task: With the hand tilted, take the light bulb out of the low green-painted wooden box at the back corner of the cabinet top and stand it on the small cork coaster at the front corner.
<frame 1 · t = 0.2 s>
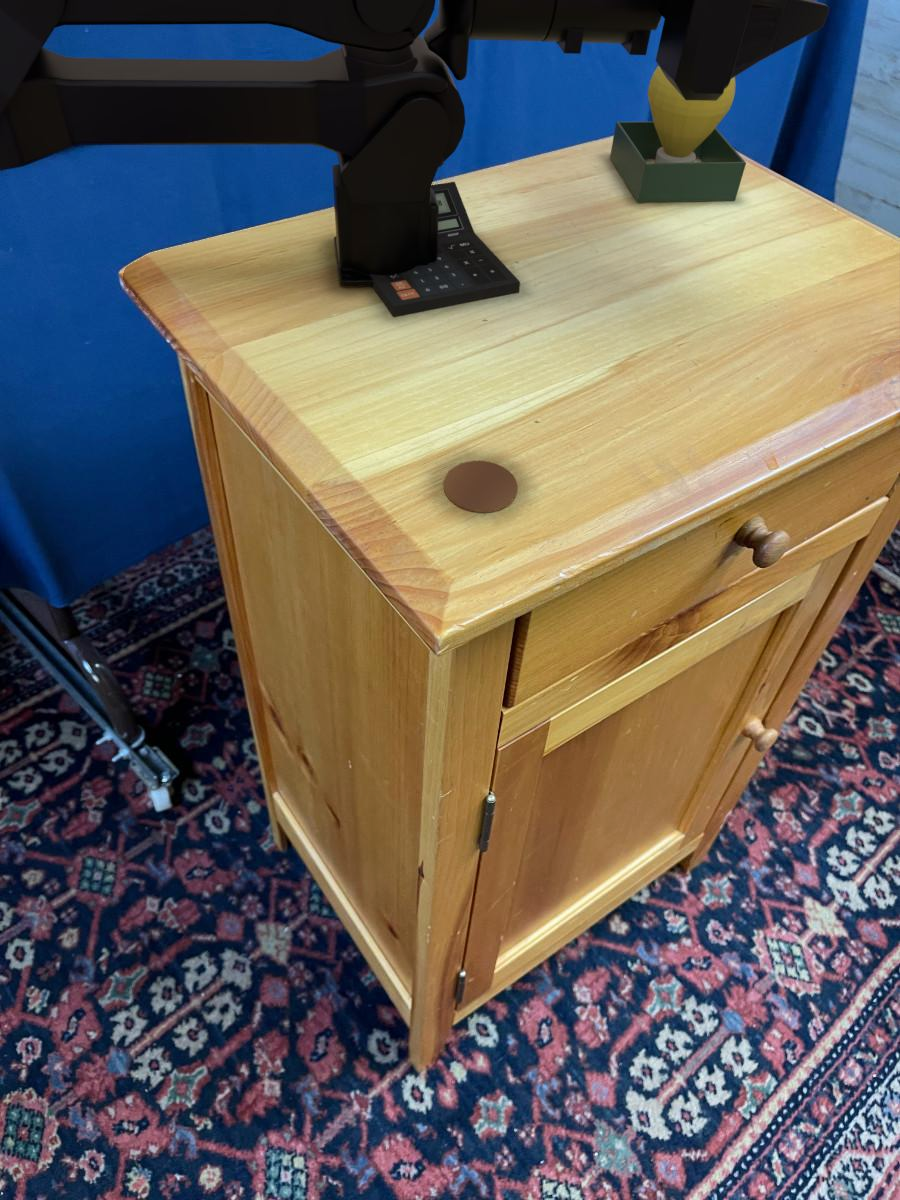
calculator: (424, 267, 62), on the nightstand, touching arm
light bulb: (670, 181, 73), resting in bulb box
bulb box: (670, 178, 73), on the nightstand
coaster: (480, 486, 47), on the nightstand
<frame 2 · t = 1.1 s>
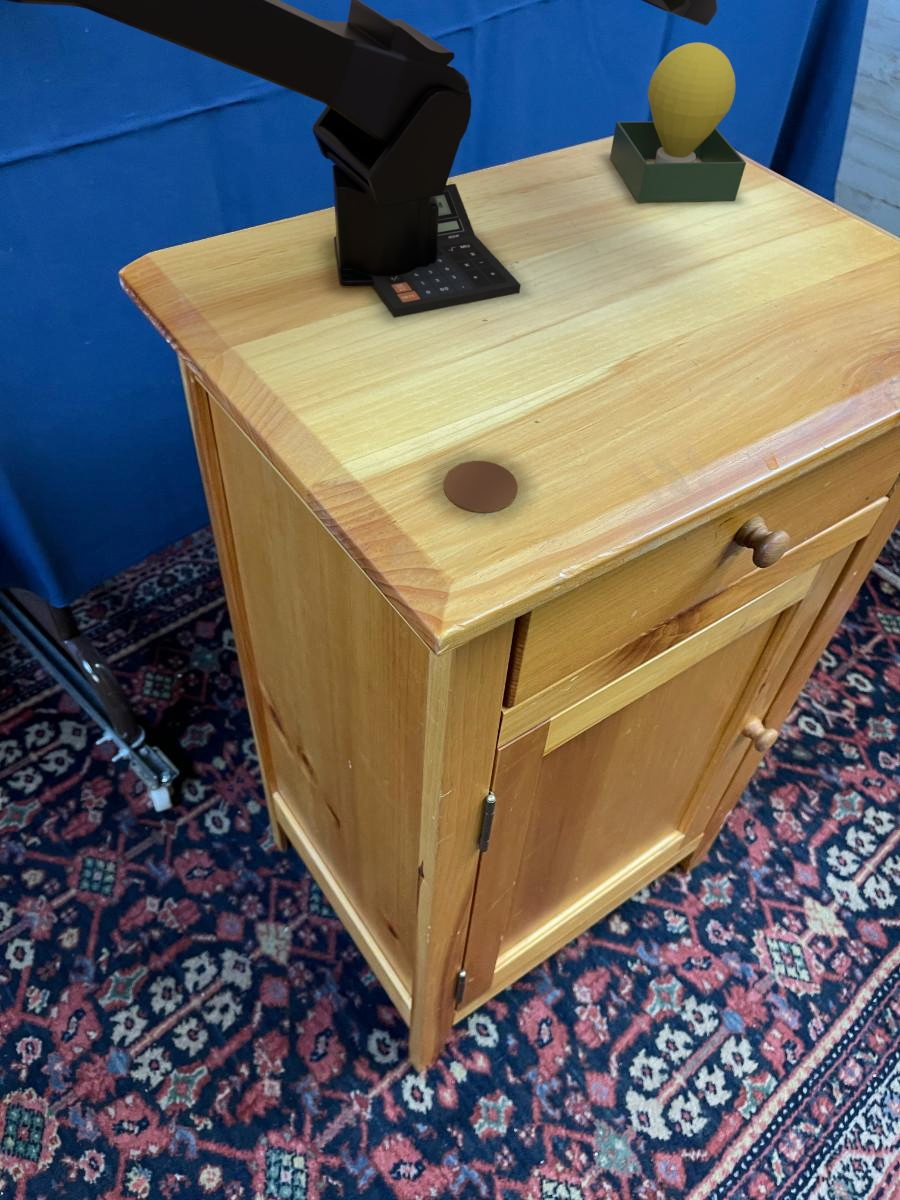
calculator: (424, 269, 62), on the nightstand
everything else where it was.
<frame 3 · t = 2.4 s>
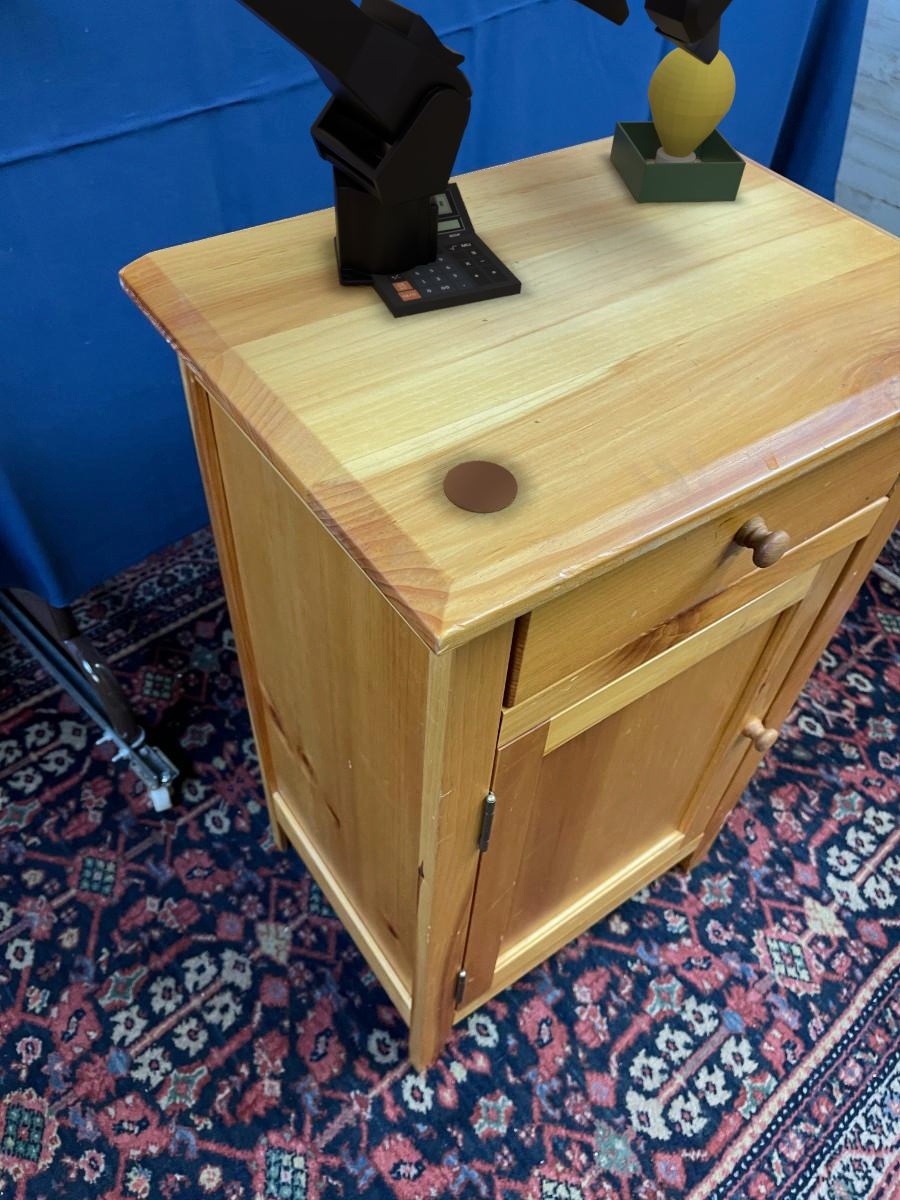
hand: (666, 38, 63), 11 cm above the nightstand, tool tilted 45°, fingers open, 9 cm apart
calculator: (425, 268, 62), on the nightstand, touching arm
everything else where it was.
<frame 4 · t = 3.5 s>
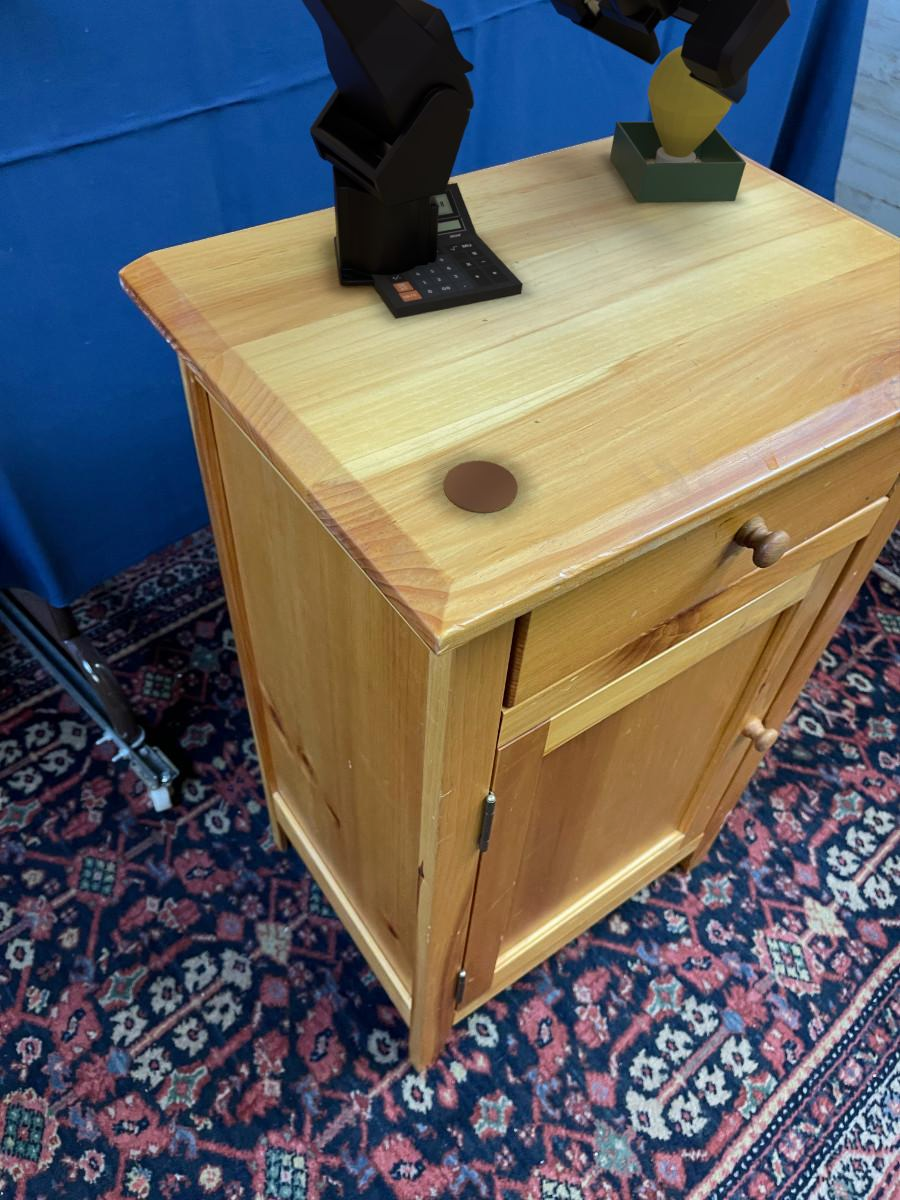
hand: (696, 77, 67), 8 cm above the nightstand, tool tilted 45°, fingers open, 9 cm apart
nothing on the nightstand moved.
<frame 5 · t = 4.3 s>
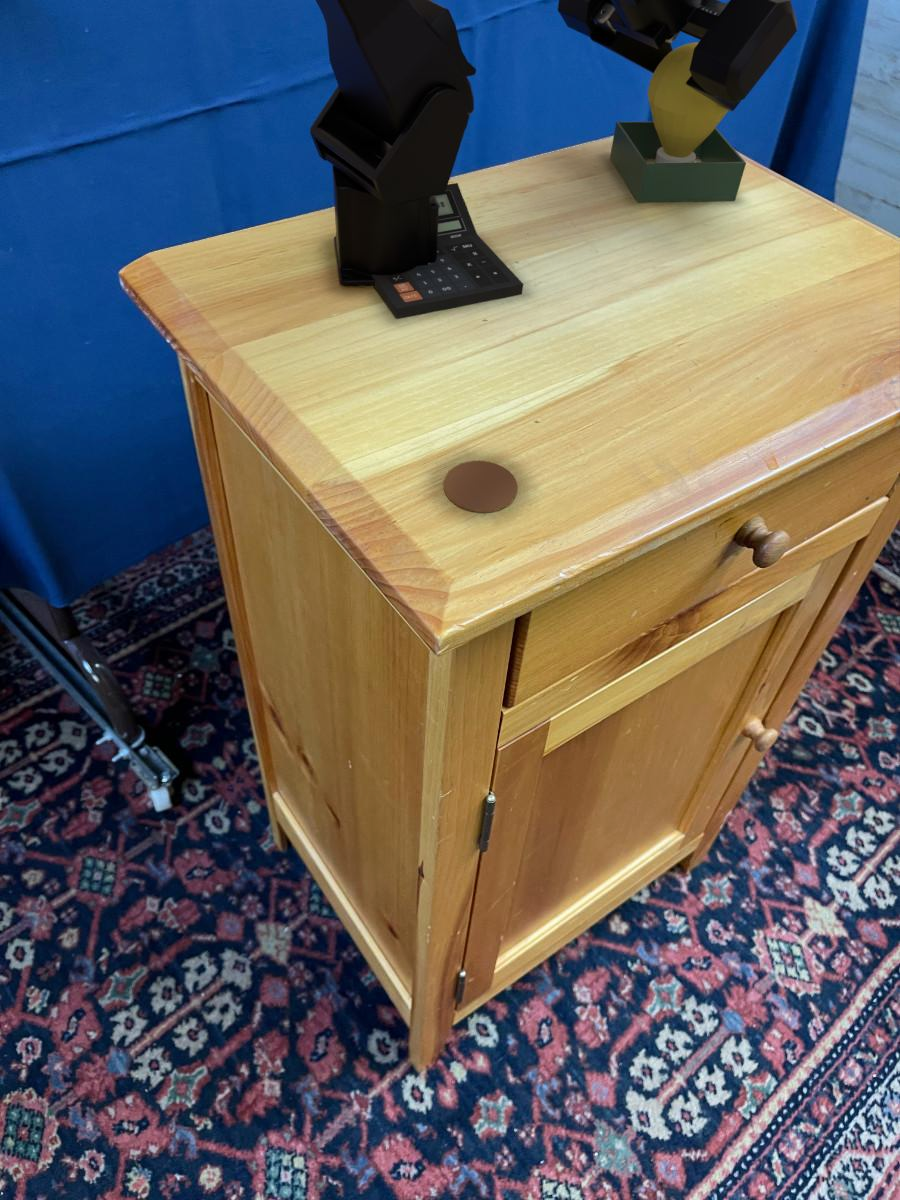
hand: (703, 90, 69), 7 cm above the nightstand, tool tilted 45°, fingers closed on light bulb, 6 cm apart
light bulb: (670, 181, 73), resting in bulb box, touching gripper
everything else where it was.
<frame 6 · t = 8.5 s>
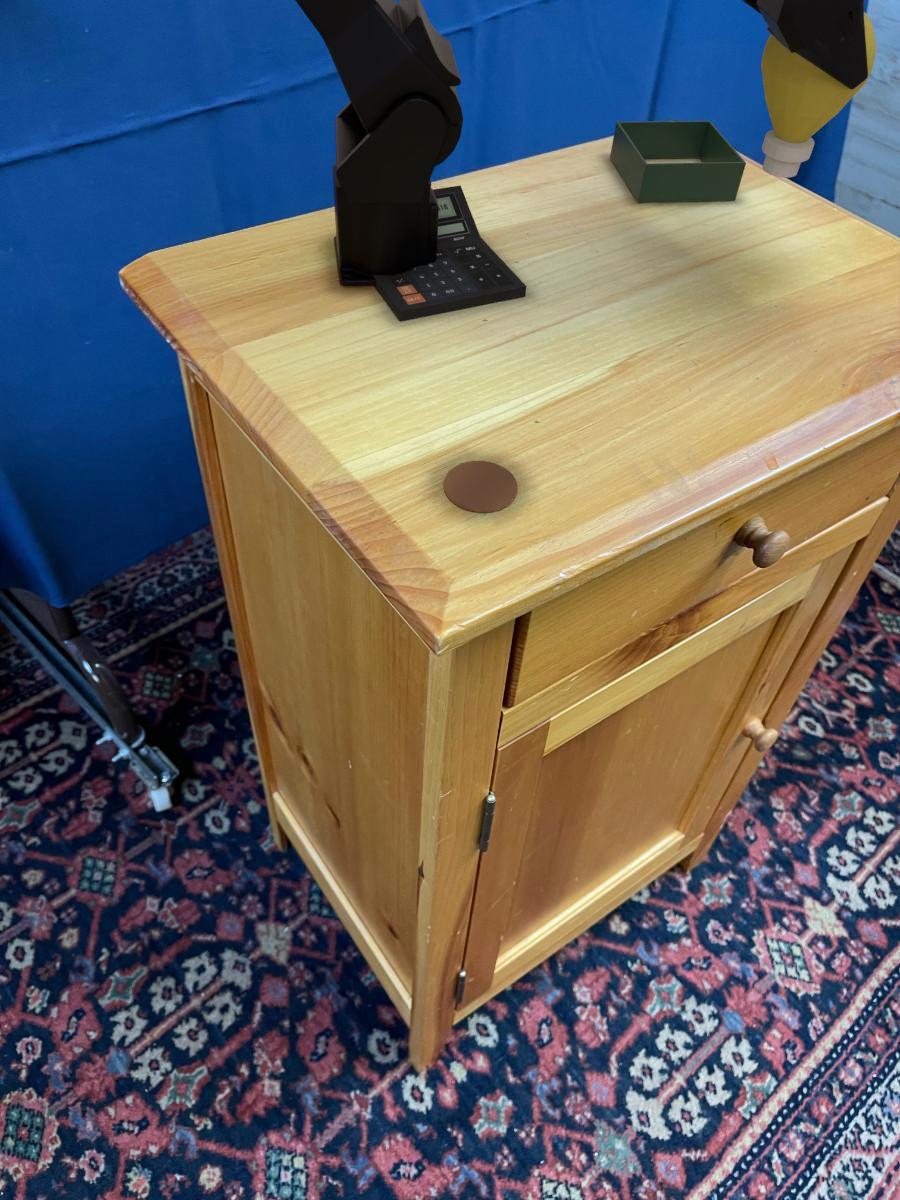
hand: (837, 62, 54), 13 cm above the nightstand, tool tilted 45°, fingers closed on light bulb, 6 cm apart
light bulb: (778, 173, 59), point 7 cm above the nightstand, touching gripper
everything else where it was.
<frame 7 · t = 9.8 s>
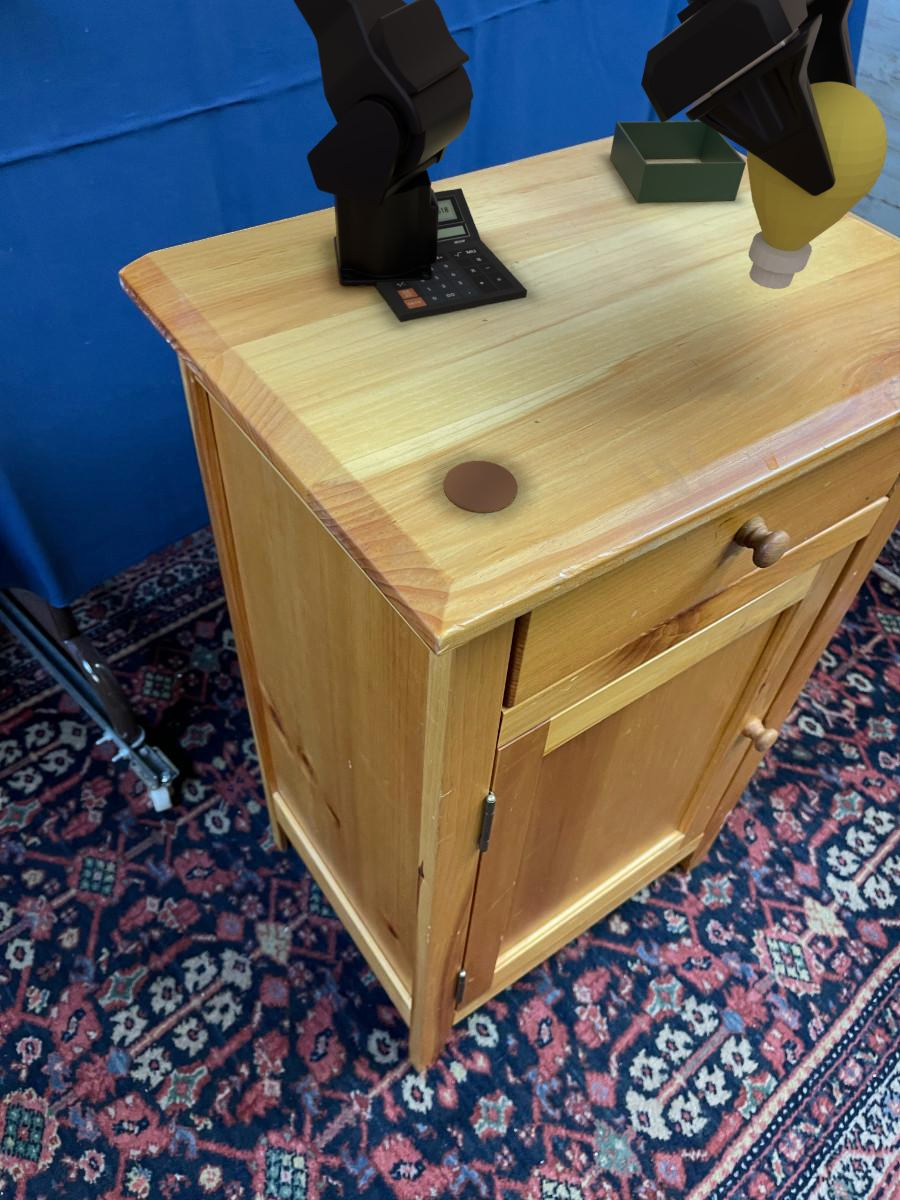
hand: (839, 165, 44), 13 cm above the nightstand, tool tilted 45°, fingers closed on light bulb, 6 cm apart
calculator: (430, 274, 62), on the nightstand
light bulb: (768, 281, 50), point 7 cm above the nightstand, touching gripper
when the fingers open (7 cm above the nightstand, at t = 15.0 s): light bulb stays where it is, resting on coaster.
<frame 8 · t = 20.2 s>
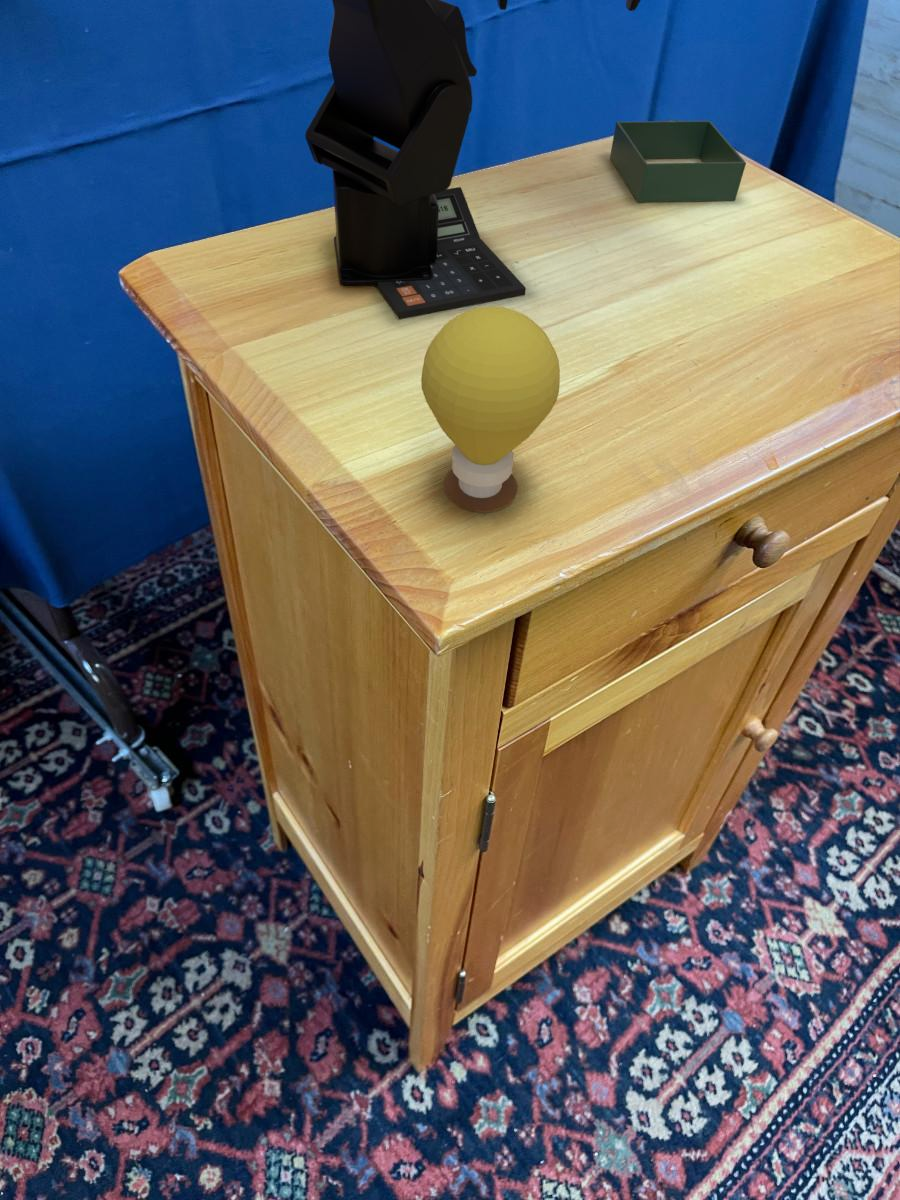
hand: (566, 8, 60), 13 cm above the nightstand, tool pointing down, fingers open, 9 cm apart
light bulb: (480, 485, 47), resting on coaster
everything else where it was.
at the end: light bulb inside the target area (0.2 cm from its centre), resting on coaster; light bulb tilted 0°; the gripper is holding nothing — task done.
